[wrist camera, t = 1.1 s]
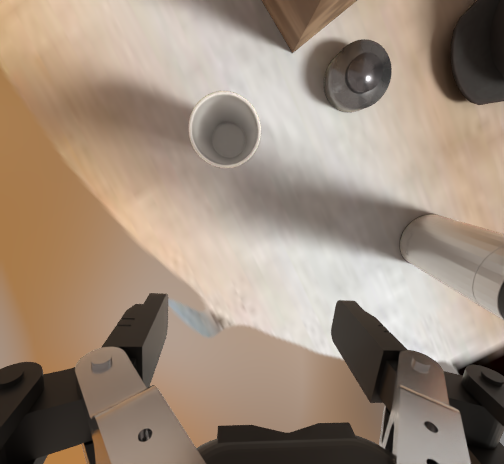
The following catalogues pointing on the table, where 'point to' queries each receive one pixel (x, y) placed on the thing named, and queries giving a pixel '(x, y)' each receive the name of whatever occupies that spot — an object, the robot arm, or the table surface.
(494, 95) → the casserole
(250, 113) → the white tapered cylinder
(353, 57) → the round knob
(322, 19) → the pedestal
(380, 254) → the table surface
